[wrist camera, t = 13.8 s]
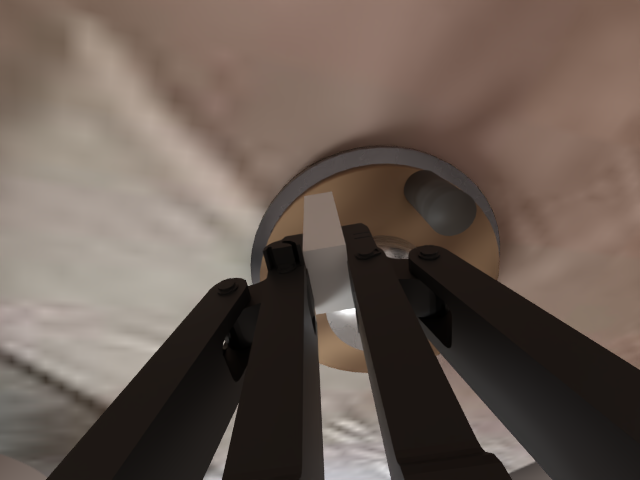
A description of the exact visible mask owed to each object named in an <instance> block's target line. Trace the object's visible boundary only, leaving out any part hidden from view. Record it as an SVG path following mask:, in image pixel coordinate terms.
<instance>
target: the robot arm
mask: <svg viewBox="0 0 640 480" xmlns="http://www.w3.org/2000/svg"><path fill="white" fill-rule="evenodd" d="M263 255H264V258H265V262H266V266H267V269H268V274H267V278H266V279H265V280H263V281H261V282H259V283H256V284H253V285H250V286H248V285H247V282H246V280H244V279H242V278H232V279H231V278H229V279H226V280H223V281H221V282H220V283H218V284H216V285H215V286H213V287H212V288H211V289H210V290H209V291H208V293H207V294H206V295H205V296H204V297H203V298H202V299H201V301H200V302H199V303H198V304H197V305H196V306H195V308H194V309H193V310H192V311H191V312H190V313H189V315H188V316H187V317H186V318H185V319H184V320H183V321H182V323H181V324H180V325H179V326H178V327H177V328H176V330H175V331H174V332H173V333H172V334H171V335H170V337H169V338H168V339H167V340H166V341H165V342H164V343H163V345H162V346H161V347H160V348H159V349H158V350H157V352H156V353H155V354H154V355H153V356H152V357H151V359H150V360H149V361H148V362H147V363H146V364H145V366H144V367H143V368H142V369H141V370H140V371H139V372H138V374H137V375H136V376H135V377H134V378H133V379H132V381H131V382H130V383H129V384H128V385H127V386H126V388H125V389H124V390H123V391H122V392H121V393H120V394H119V396H118V397H117V398H116V399H115V400H114V401H113V403H112V404H111V405H110V406H109V407H108V408H107V410H106V411H105V412H104V413H103V414H102V415H101V416H100V418H99V419H98V420H97V421H96V422H95V423H94V425H93V426H92V427H91V428H90V429H89V430H88V432H87V433H86V434H85V435H84V436H83V437H82V438H81V440H80V441H79V442H78V443H77V444H76V445H75V447H74V448H73V449H72V450H71V451H70V452H69V454H68V455H67V456H66V457H65V458H64V459H63V461H62V462H61V463H60V464H59V465H58V466H57V467H56V469H55V470H54V471H53V472H52V473H51V474H50V476H49V477H48V478H47V479H46V480H203V478H204V476H205V473H206V471H207V469H208V467H209V465H210V463H211V461H212V459H213V456H214V454H215V452H216V450H217V448H218V446H219V444H220V441H221V439H222V437H223V435H224V433H225V431H226V429H227V427H228V424H229V422H230V420H231V418H232V416H233V414H234V412H235V410H236V407H237V405H238V403H239V405H238V410H237V414H236V419H235V423H234V428H233V432H232V437H231V441H230V446H229V450H228V455H227V459H226V464H225V469H224V473H223V477H222V480H324V459H323V438H322V416H321V395H320V374H319V353H318V332H317V320H316V316H315V312H316V314H323V313H329V312H335V311H342V310H348V309H354V308H355V313H356V320H357V327H358V333H360V338H361V342H362V347H363V351H364V356H365V361H366V365H367V370H368V374H369V379H370V384H371V388H372V393H373V397H374V402H375V407H376V411H377V416H378V421H379V425H380V430H381V434H382V439H383V444H384V448H385V453H386V457H387V462H388V467H389V471H390V476H391V480H512V479H511V477H510V475H509V474H508V472H507V470H506V469H505V467H504V466H503V464H502V462H501V461H500V460H499V459H498V458H497V457H496V456H495V455H494V454H492V453H488V452H485V451H484V450H483V449H482V447H481V446H480V444H479V442H478V441H477V439H476V437H475V435H474V433H473V431H472V429H471V427H470V425H469V423H468V420H467V418H466V416H465V414H464V412H463V410H462V408H461V406H460V404H459V402H458V400H457V398H456V396H455V394H454V392H453V390H452V388H451V386H450V384H449V382H448V380H447V378H446V376H445V374H444V372H443V370H442V368H441V366H440V364H439V362H438V359H437V357H436V355H435V353H434V351H433V349H432V347H431V345H430V343H429V341H430V342H431V343H432V344H433V345H434V347H435V348H436V349H437V350H438V351H439V352H440V353H441V354H442V356H443V357H444V358H445V359H446V360H447V361H448V362H449V364H450V365H451V366H452V367H453V368H454V369H455V370H456V371H457V373H458V374H459V375H460V376H461V377H462V378H463V379H464V380H465V382H466V383H467V384H468V385H469V386H470V387H471V388H472V390H473V391H474V392H475V393H476V394H477V395H478V396H479V397H480V399H481V400H482V401H483V402H484V403H485V404H486V405H487V406H488V408H489V409H490V410H491V411H492V412H493V413H494V414H495V416H496V417H497V418H498V419H499V420H500V421H501V422H502V423H503V425H504V426H505V427H506V428H507V429H508V430H509V431H510V432H511V434H512V435H513V436H514V437H515V438H516V439H517V440H518V442H519V443H520V444H521V445H522V446H523V447H524V448H525V449H526V451H527V452H528V453H529V454H530V455H531V456H532V457H533V458H534V460H535V461H536V462H537V463H538V464H539V465H540V466H541V467H542V469H543V470H544V471H545V472H546V473H547V474H548V475H549V477H551V479H552V480H640V370H639V369H637V368H636V367H634V366H633V365H631V364H629V363H628V362H626V361H625V360H623V359H621V358H620V357H618V356H617V355H615V354H613V353H612V352H610V351H609V350H607V349H605V348H604V347H602V346H601V345H599V344H597V343H596V342H594V341H593V340H591V339H589V338H588V337H586V336H585V335H583V334H581V333H580V332H578V331H577V330H575V329H573V328H572V327H570V326H569V325H567V324H565V323H564V322H562V321H561V320H559V319H557V318H556V317H554V316H553V315H551V314H549V313H548V312H546V311H545V310H543V309H541V308H540V307H538V306H537V305H535V304H533V303H532V302H530V301H529V300H527V299H525V298H524V297H522V296H521V295H519V294H517V293H516V292H514V291H513V290H511V289H509V288H508V287H506V286H505V285H503V284H501V283H500V282H498V281H497V280H495V279H493V278H492V277H490V276H489V275H487V274H485V273H484V272H482V271H481V270H479V269H477V268H476V267H474V266H473V265H471V264H469V263H468V262H466V261H465V260H463V259H461V258H460V257H458V256H457V255H455V254H453V253H452V252H450V251H449V250H447V249H445V248H443V247H440V246H434V245H423V246H419V247H416V248H414V249H412V250H411V251H410V252H409V254H408V259H397V258H390V257H387V256H386V254H385V252H384V251H383V250H382V249H381V248H378V247H377V245H376V243H375V241H374V239H373V237H372V234H371V232H370V230H369V228H368V226H366V225H364V224H363V223H357V224H351V225H345V226H341V225H340V221H339V217H338V213H337V209H336V205H335V202H334V198H333V194H332V191H331V192H325V193H320V194H314V195H308V196H304V221H303V234H297V235H291V236H285V237H284V238H283V239H282V240H279V241H275V242H273V243H271V244H269V245H267V246H266V247H265V248H264V249H263ZM224 340H225V343H224V345H223V342H224ZM428 340H429V341H428Z"/></svg>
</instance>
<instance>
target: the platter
mask: <svg viewBox="0 0 640 480" xmlns="http://www.w3.org/2000/svg"><path fill="white" fill-rule="evenodd" d="M331 191H332V194H333V198H334V202H335V205H336V209H337V213H338V217H339V221H340V225H341V226H345V225H351V224H357V223H363V224H364V225H366V226H368V228H369V230H370V232H371V234H372V236H379V235H386V236H394V237H398V238H401V239H404V240H406V241H408V242H410V243H412V244H413V245H415V246H416V247H419V246H423V245H434V246H440V247H443V248H445V249H447V250H449V251H450V252H452V253H453V254H455V255H457V256H458V257H460V258H461V259H463V260H465V261H466V262H468V263H469V264H471V265H473V266H474V267H476V268H477V269H479V270H481V271H482V272H484V273H485V274H487V275H489V276H490V277H492V278H493V279H495V280H497V278H498V273H499V250H498V244H497V240H496V236H495V233H494V231H493V228H492V226H491V224H490V221H489V220H488V218H487V217H486V215H485V214H484V212H483V211H482V209H481V208H480V207H479V206H478V205H477V204H476V202H475V201H474V200H473V198H472V197H471V196H469V195H468V194H466V193H465V192H463V191H462V190H461V189H460V188H458V187H457V186H455V185H453V184H452V183H450V182H449V181H447V180H445V179H443V178H442V177H440V176H438V175H437V174H435V173H434V172H432V171H429V170H423V169H420V168H416V167H412V166H407V165H400V164H370V165H364V166H358V167H353V168H350V169H347V170H344V171H340V172H337V173H335V174H333V175H331V176H329V177H326V178H324V179H322V180H320V181H319V182H317V183H316V184H314V185H312V186H311V187H309V188H308V189H307V190H305V191H304V192H303V193H302V194H301V195H299V196H298V197H297V198H296V199H295V200H294V201H293V202H292V203H291V204H290V205H289V206H288V207H287V208H286V209H285V211H284V212H283V213H282V215H281V216H280V218H279V219H278V221H277V222H276V224H275V226H274V228H273V230H272V232H271V234H270V236H269V239H268V242H267V245H269V244H271V243H273V242H275V241H279V240H282V239H283V238H284V237H285V236H291V235H297V234H303V221H304V196H308V195H314V194H320V193H325V192H331ZM267 245H266V246H267ZM267 274H268V269H267V266H266V262H265V258H264V255H263V258H262V263H261V269H260V282H261V281H263V280H265V279H266V278H267ZM315 316H316V320H317V332H318V353H319V363H320V364H323V365H326V366H328V367H332V368H336V369H339V370H344V371H351V372H362V373H368V370H367V365H366V361H365V356H364V351H362V350H358V349H356V348H353V347H351V346H349V345H347V344H346V343H344V342H343V341H342V340H340V339H339V338H338V337H337V336H336V334H335V333H334V332H333V331H332V329H331V327H330V325H329V323H328V320H327V315H326V313H323V314H316V312H315ZM428 341H429V340H428ZM429 343H430V345H431V347H432V349H433V351H434V353H435V355H436V356H437V355H438V354H440V352H439V351H438V350H437V349H436V348H435V347H434V345H433V344H432V343H431V342H430V341H429Z"/></svg>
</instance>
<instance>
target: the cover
mask: <svg viewBox="0 0 640 480" xmlns="http://www.w3.org/2000/svg"><path fill="white" fill-rule="evenodd" d="M372 237H373V239H374V241H375V243H376V245H377V247H378V248H381V249H382V250H383V251H384V252H385V254H386V256H387V257H390V258H397V259H408V254H409V252H410V251H411V250H412V249H414V248H416V246H415V245H413V244H412V243H410V242H408V241H406V240H404V239H401V238H398V237H394V236H386V235H379V236H372ZM326 315H327V320H328V323H329V325H330V327H331V329H332V331H333V332H334V333H335V334H336V336H337V337H338V338H339V339H340V340H342V341H343V342H344V343H346V344H347V345H349V346H351V347H353V348H356V349H358V350H362V351H363V347H362V342H361V338H360V333H358V327H357V320H356V313H355V308H354V309H348V310H342V311H335V312H329V313H326Z"/></svg>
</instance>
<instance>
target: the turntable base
mask: <svg viewBox="0 0 640 480" xmlns="http://www.w3.org/2000/svg"><path fill="white" fill-rule="evenodd" d="M370 164H400V165H407V166H412V167H416V168H420V169H423V170H429V171H432V172H434V173H435V174H437V175H438V176H440V177H442V178H443V179H445V180H447V181H449V182H450V183H452V184H453V185H455V186H457V187H458V188H460V189H461V190H462V191H463V192H465V193H466V194H468V195H469V196H471V197H472V198H473V200H474V201H475V202H476V204H477V205H478V206H479V207H480V208H481V209H482V211H483V212H484V214H485V215H486V217H487V218H488V220H489V221H490V224H491V226H492V228H493V231H494V233H495V236H496V240H497V244H498V250H499V256H500V239H499V232H498V226H497V223H496V220H495V217H494V213H493V211H492V209H491V207H490V205H489V203H488V201H487V199H486V198H485V196H484V195H483V194H482V192H481V191H480V190H479V188H478V187H477V186H476V185H475V184H474V183H473V182H472V181H471V180H470V179H469V178H468V177H467V176H466V175H465V174H463V173H462V172H461V171H459V170H458V169H456V168H455V167H453V166H452V165H450V164H449V163H447V162H445V161H442V160H440V159H438V158H436V157H434V156H432V155H430V154H427V153H424V152H421V151H418V150H415V149H410V148H404V147H398V146H369V147H360V148H355V149H351V150H347V151H343V152H340V153H337V154H334V155H332V156H329V157H327V158H324V159H322V160H320V161H319V162H317V163H315V164H313V165H311V166H309V167H308V168H306V169H305V170H304V171H302V172H301V173H300V174H298V175H297V176H295V177H294V178H293V179H292V180H291V181H290V182H289V183H288V184H287V185H286V186H285V187H284V188H283V189H282V190H281V191H280V192H279V193H278V195H277V196H276V197H275V198H274V200H273V201H272V202H271V204H270V205H269V207H268V209H267V211H266V212H265V214H264V216H263V218H262V220H261V223H260V225H259V228H258V230H257V233H256V235H255V239H254V243H253V248H252V254H251V277H252V283H253V284H256V283H259V282H260V269H261V263H262V258H263V249H264V248H265V247H266V245H267V242H268V239H269V236H270V234H271V232H272V230H273V228H274V226H275V224H276V222H277V221H278V219H279V218H280V216H281V215H282V213H283V212H284V211H285V209H286V208H287V207H288V206H289V205H290V204H291V203H292V202H293V201H294V200H295V199H296V198H297V197H298V196H299V195H301V194H302V193H303V192H304V191H305V190H307V189H308V188H309V187H311V186H312V185H314V184H316V183H317V182H319V181H320V180H322V179H324V178H326V177H329V176H331V175H333V174H335V173H337V172H340V171H344V170H347V169H350V168H353V167H358V166H364V165H370Z"/></svg>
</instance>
